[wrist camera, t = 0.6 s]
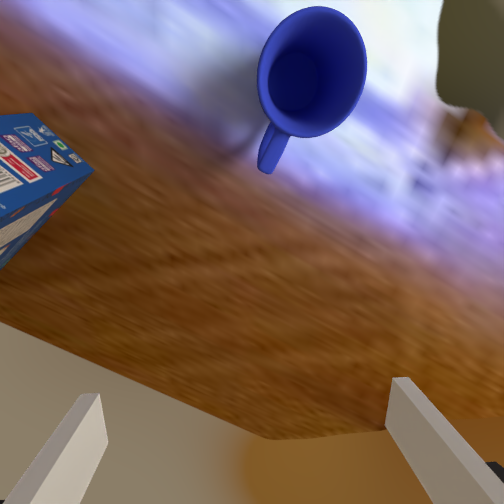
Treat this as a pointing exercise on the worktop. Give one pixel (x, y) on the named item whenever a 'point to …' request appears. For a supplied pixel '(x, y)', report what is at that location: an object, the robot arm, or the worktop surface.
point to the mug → (308, 78)
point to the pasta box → (32, 179)
